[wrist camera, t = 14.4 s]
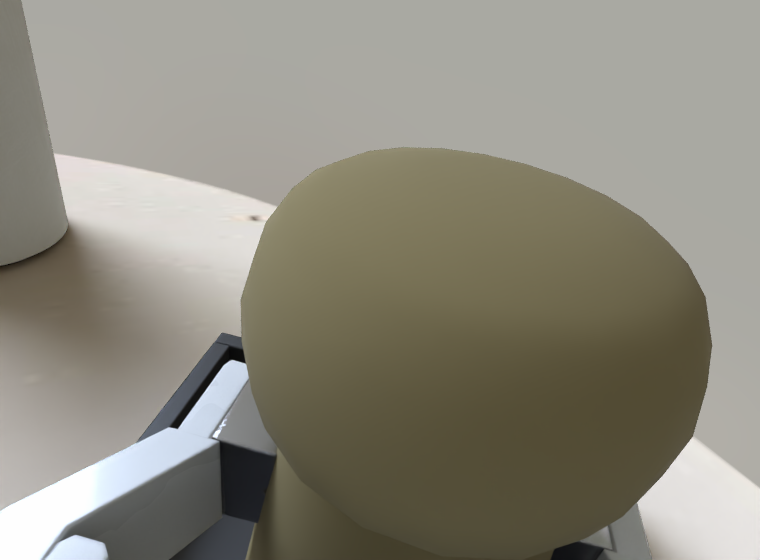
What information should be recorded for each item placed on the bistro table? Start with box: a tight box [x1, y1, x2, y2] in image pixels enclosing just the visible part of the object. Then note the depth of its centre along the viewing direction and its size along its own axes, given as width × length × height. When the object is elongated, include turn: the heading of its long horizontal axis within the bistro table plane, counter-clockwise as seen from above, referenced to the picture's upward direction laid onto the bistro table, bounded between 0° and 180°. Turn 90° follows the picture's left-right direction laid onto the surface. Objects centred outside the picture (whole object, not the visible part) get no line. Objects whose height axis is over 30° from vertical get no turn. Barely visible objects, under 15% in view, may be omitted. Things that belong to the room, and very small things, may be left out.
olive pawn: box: [241, 147, 712, 560], centre depth 8 cm, size 6×6×11 cm
